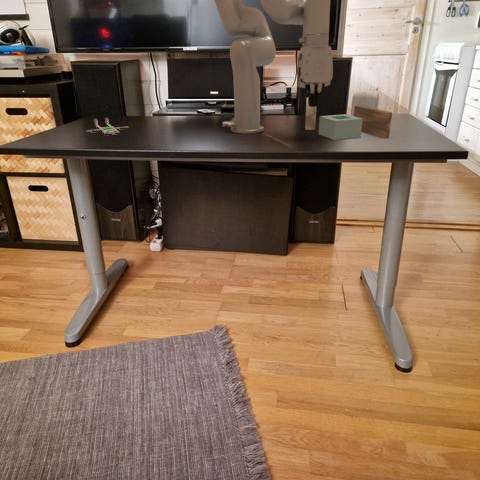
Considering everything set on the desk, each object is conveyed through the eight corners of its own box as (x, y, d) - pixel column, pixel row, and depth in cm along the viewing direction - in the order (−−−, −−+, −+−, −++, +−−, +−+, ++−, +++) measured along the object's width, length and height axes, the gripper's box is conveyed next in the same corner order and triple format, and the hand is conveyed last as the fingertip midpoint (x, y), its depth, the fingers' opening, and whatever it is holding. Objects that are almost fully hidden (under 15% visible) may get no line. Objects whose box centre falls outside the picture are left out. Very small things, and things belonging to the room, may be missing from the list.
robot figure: (81, 128, 166) (90, 137, 149) (80, 120, 165) (88, 128, 147) (121, 124, 173) (134, 133, 156) (120, 116, 172) (133, 124, 154)
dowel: (307, 133, 146) (309, 98, 141) (303, 131, 149) (304, 97, 144) (316, 132, 147) (318, 97, 142) (311, 130, 150) (313, 96, 145)
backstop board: (334, 146, 126) (337, 117, 123) (307, 135, 142) (309, 109, 138) (388, 141, 132) (392, 112, 128) (356, 131, 148) (359, 105, 144)
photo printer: (376, 122, 162) (381, 90, 157) (374, 124, 159) (378, 91, 154) (351, 121, 167) (354, 89, 161) (348, 122, 164) (351, 90, 158)
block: (333, 140, 130) (335, 120, 127) (318, 134, 139) (319, 116, 136) (360, 137, 133) (362, 118, 130) (344, 131, 141) (345, 114, 139)
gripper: (298, 42, 115) (297, 109, 122) (344, 40, 119) (340, 105, 126) (287, 43, 121) (286, 107, 129) (331, 41, 125) (328, 103, 133)
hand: (313, 106), depth 128 cm, fingers closed
